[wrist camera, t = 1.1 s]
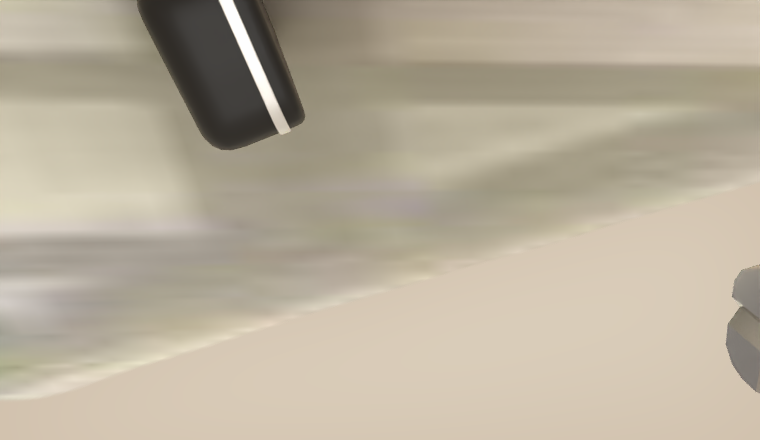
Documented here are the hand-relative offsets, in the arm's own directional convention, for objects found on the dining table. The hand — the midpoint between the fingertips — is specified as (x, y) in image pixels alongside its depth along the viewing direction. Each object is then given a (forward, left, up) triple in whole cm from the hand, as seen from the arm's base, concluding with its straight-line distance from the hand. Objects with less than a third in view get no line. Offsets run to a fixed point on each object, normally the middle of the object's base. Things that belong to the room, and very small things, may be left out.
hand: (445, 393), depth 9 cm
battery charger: (+3, 0, -29) cm, 29 cm away
